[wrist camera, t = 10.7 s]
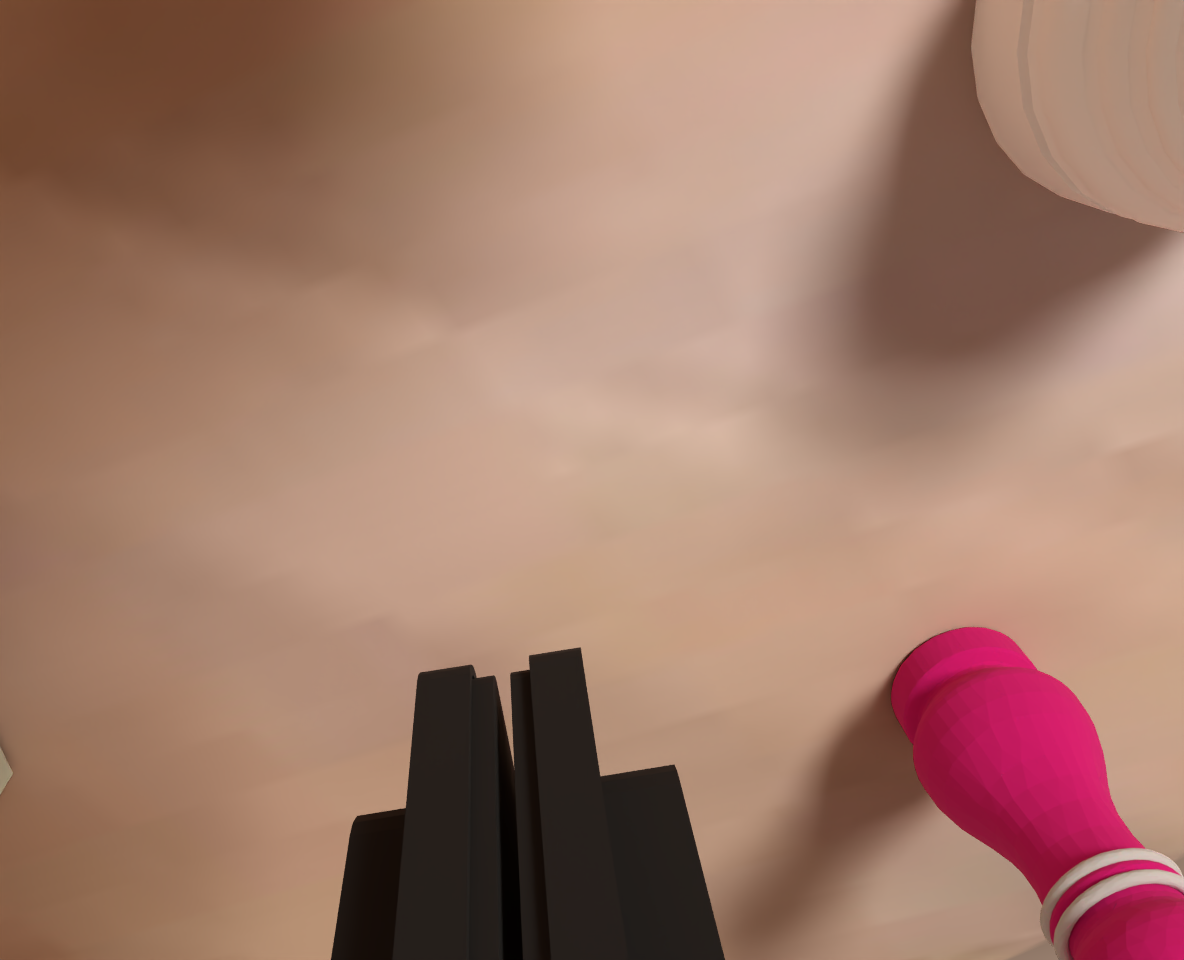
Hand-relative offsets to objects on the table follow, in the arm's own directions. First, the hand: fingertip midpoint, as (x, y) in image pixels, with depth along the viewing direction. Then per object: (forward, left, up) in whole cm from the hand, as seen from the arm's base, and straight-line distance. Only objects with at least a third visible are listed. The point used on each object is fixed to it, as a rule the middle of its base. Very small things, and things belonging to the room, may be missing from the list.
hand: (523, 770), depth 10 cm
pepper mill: (+23, +17, -27) cm, 39 cm away
